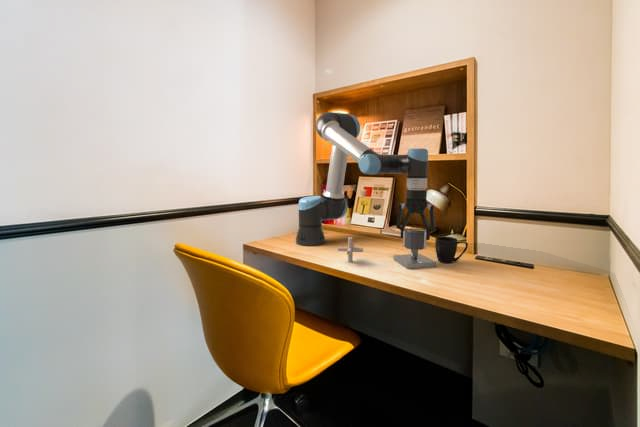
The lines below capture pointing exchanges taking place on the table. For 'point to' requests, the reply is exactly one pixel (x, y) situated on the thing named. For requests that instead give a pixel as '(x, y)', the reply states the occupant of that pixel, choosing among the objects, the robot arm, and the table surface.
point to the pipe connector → (350, 249)
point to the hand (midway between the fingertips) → (414, 246)
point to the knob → (414, 239)
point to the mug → (447, 249)
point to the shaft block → (414, 260)
